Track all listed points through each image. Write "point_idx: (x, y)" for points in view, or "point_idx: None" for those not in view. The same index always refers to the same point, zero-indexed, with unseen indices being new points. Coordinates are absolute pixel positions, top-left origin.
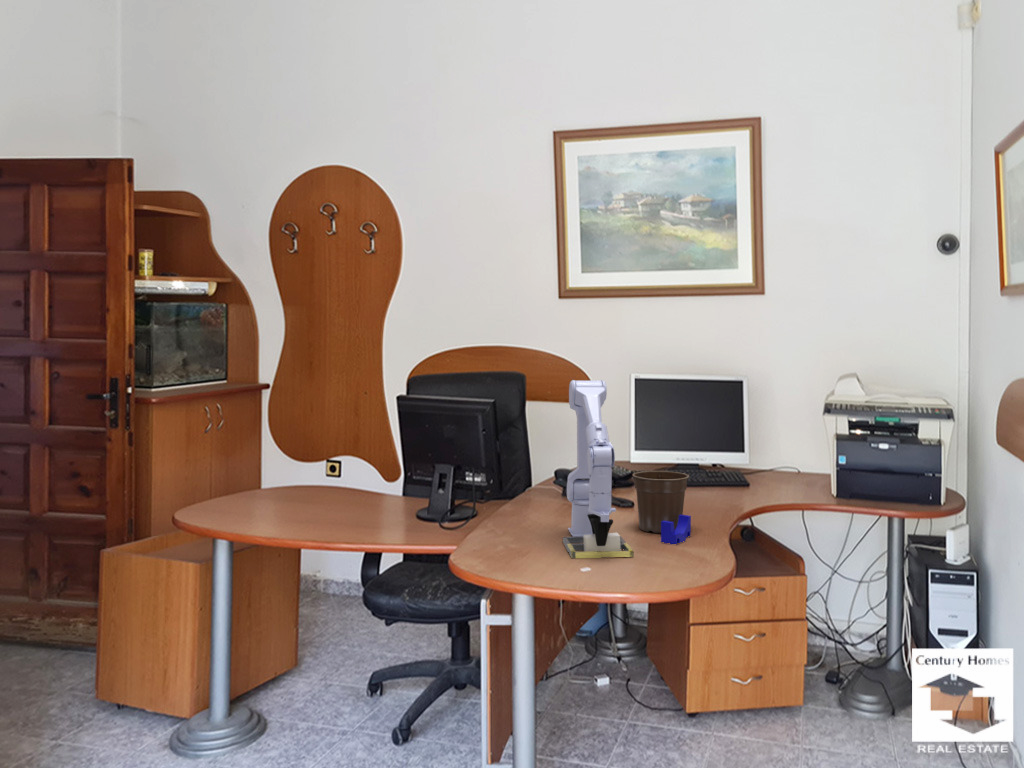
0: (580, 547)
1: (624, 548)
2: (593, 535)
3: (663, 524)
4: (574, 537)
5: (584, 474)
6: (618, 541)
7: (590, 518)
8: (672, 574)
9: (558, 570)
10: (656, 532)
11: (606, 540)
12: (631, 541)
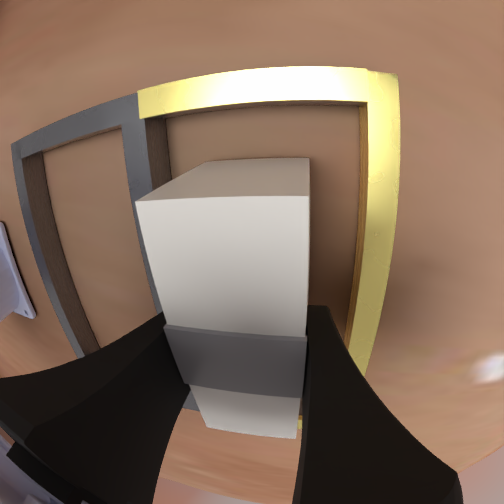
0: None
1: (190, 112)
2: (234, 402)
3: None
4: (80, 349)
5: None
6: (309, 197)
7: (148, 501)
8: None
9: (463, 425)
10: None
11: (336, 328)
12: (26, 90)
